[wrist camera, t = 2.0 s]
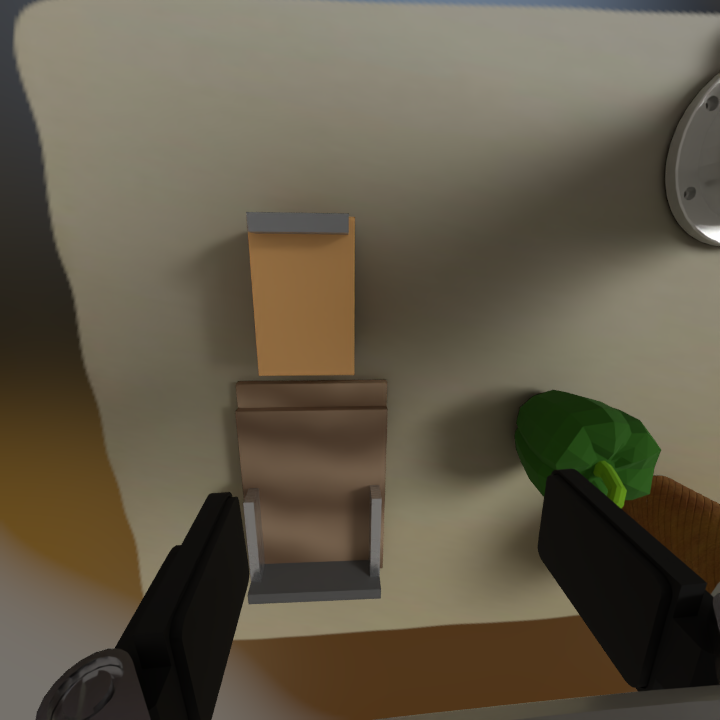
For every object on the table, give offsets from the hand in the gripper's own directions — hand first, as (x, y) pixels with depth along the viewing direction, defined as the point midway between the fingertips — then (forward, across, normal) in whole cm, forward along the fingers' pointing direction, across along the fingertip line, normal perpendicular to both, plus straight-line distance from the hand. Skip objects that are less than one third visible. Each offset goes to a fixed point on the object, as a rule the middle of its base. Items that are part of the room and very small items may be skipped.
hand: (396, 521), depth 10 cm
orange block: (+18, +4, -5) cm, 20 cm away
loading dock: (+19, +4, +11) cm, 22 cm away
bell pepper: (+18, -16, +6) cm, 25 cm away
